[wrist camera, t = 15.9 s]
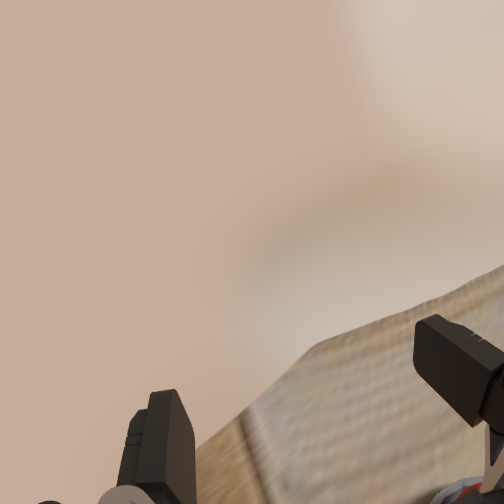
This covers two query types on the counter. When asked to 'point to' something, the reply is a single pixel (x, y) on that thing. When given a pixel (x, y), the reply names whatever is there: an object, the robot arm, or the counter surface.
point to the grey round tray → (455, 490)
